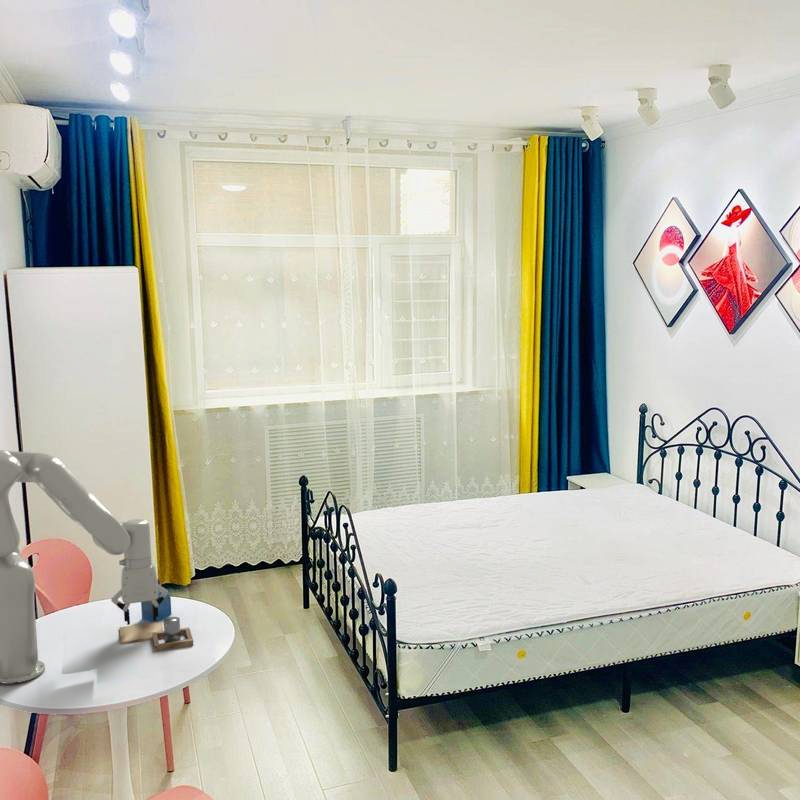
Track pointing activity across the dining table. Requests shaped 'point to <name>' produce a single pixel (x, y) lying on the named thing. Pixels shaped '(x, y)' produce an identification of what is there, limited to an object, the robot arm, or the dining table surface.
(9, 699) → the dining table surface
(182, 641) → the collar
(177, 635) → the peg
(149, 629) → the mat
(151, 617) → the perfume bottle
